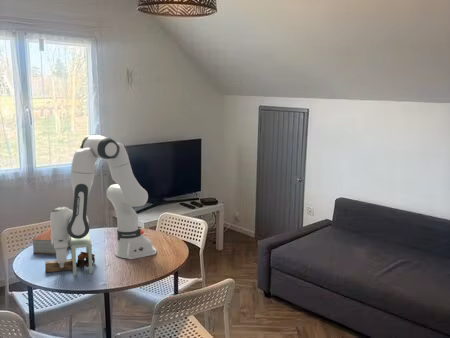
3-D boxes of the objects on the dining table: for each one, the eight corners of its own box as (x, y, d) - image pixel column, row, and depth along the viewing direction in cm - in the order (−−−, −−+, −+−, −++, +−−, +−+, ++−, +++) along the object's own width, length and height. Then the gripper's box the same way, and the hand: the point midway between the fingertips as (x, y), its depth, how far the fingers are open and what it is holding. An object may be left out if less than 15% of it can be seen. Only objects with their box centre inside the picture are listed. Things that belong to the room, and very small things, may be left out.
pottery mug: (71, 266, 218) (75, 250, 221) (87, 270, 224) (91, 254, 227) (81, 268, 210) (86, 251, 212) (98, 272, 216) (103, 256, 218)
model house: (60, 256, 233) (59, 229, 230) (33, 254, 234) (31, 228, 231) (78, 241, 256) (77, 217, 253) (53, 240, 257) (52, 216, 254)
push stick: (74, 265, 219) (74, 257, 218) (75, 270, 213) (75, 261, 213) (45, 268, 213) (45, 260, 212) (45, 273, 208) (45, 264, 207)
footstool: (89, 259, 227) (88, 232, 225) (92, 273, 210) (91, 243, 207) (71, 261, 224) (70, 233, 221) (73, 276, 207) (72, 245, 204)
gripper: (53, 233, 219) (54, 258, 221) (53, 246, 200) (55, 274, 203) (66, 232, 221) (67, 257, 224) (68, 245, 203) (69, 272, 205)
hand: (61, 265), depth 213 cm, fingers closed on push stick, 3 cm apart
